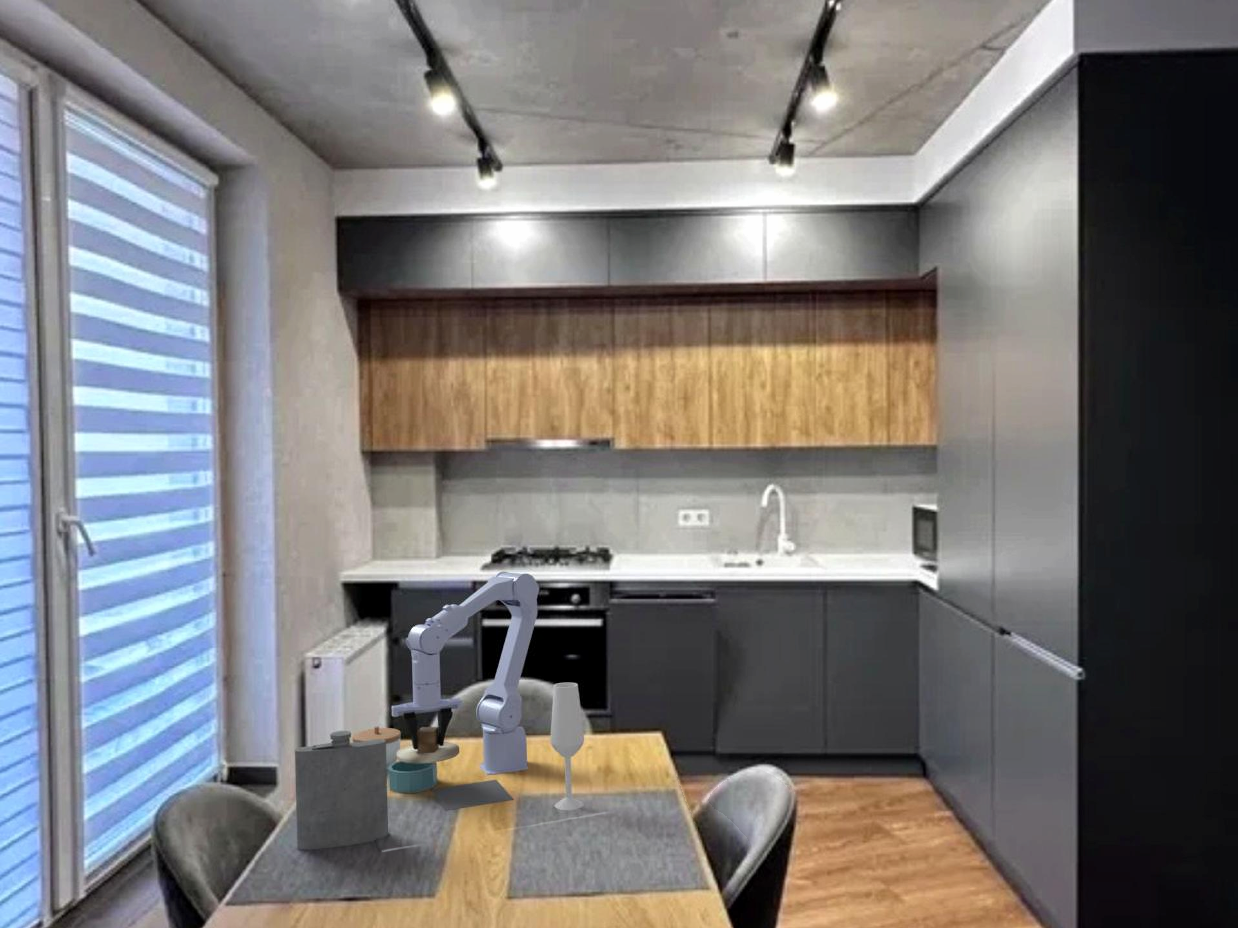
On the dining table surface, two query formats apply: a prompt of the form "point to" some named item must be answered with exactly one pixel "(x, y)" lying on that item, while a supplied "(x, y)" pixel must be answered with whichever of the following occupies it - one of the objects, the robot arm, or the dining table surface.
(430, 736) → the lid
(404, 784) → the bowl
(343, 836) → the hip flask
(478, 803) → the mat
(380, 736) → the lidded jar
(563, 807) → the champagne flute
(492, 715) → the robot arm
